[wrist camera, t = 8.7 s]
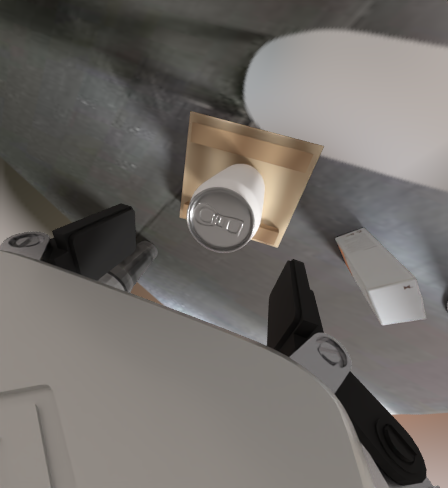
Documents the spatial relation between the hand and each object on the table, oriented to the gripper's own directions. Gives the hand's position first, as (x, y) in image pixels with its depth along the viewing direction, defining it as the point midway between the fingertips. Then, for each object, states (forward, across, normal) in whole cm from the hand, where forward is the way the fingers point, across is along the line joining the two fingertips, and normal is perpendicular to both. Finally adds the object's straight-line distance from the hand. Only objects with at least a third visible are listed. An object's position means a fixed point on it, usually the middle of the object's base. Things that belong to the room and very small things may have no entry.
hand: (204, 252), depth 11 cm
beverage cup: (+20, +17, +19) cm, 33 cm away
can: (+17, +1, 0) cm, 17 cm away
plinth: (+20, +1, 0) cm, 21 cm away
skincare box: (+21, -19, +5) cm, 29 cm away
